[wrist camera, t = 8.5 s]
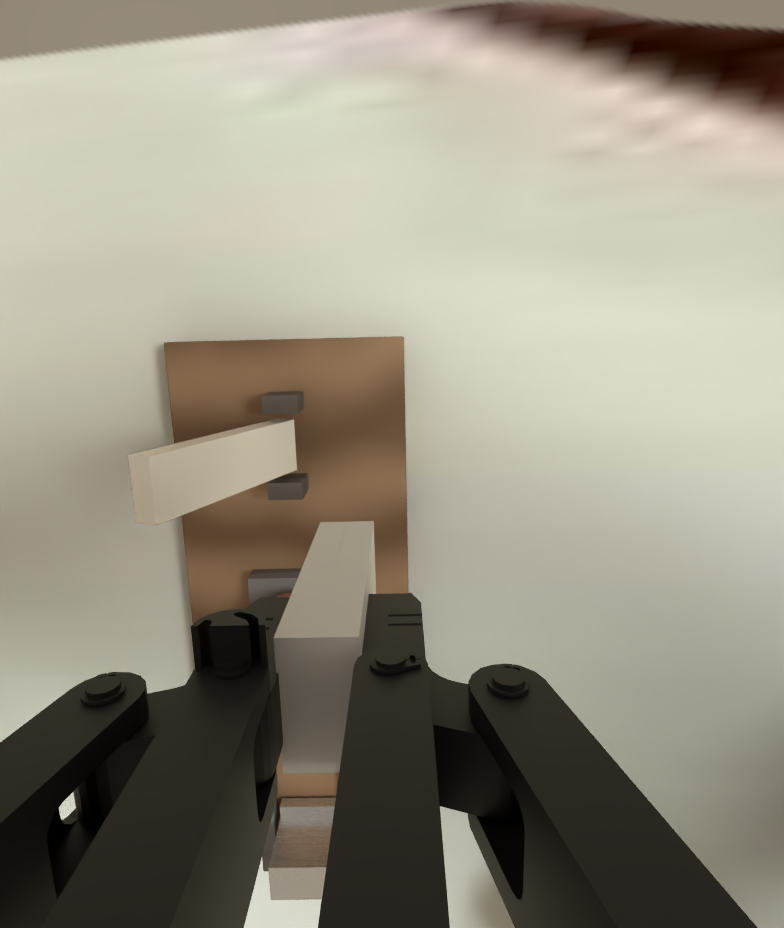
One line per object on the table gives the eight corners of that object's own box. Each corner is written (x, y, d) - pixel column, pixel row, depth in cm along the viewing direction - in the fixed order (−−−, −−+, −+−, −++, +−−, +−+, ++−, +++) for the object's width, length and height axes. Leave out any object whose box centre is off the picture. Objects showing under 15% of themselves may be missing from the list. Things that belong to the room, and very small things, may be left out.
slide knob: (281, 798, 42) (267, 857, 37) (339, 797, 42) (332, 856, 37) (285, 846, 43) (271, 910, 38) (342, 846, 43) (335, 909, 38)
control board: (176, 341, 37) (147, 343, 33) (403, 336, 37) (404, 337, 33) (224, 834, 45) (206, 887, 41) (412, 831, 45) (414, 884, 41)
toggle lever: (276, 418, 36) (127, 455, 26) (294, 419, 35) (148, 457, 25) (279, 468, 36) (135, 522, 27) (297, 469, 36) (156, 525, 26)
